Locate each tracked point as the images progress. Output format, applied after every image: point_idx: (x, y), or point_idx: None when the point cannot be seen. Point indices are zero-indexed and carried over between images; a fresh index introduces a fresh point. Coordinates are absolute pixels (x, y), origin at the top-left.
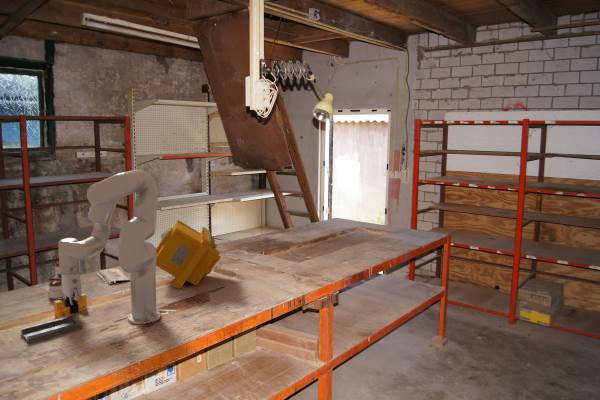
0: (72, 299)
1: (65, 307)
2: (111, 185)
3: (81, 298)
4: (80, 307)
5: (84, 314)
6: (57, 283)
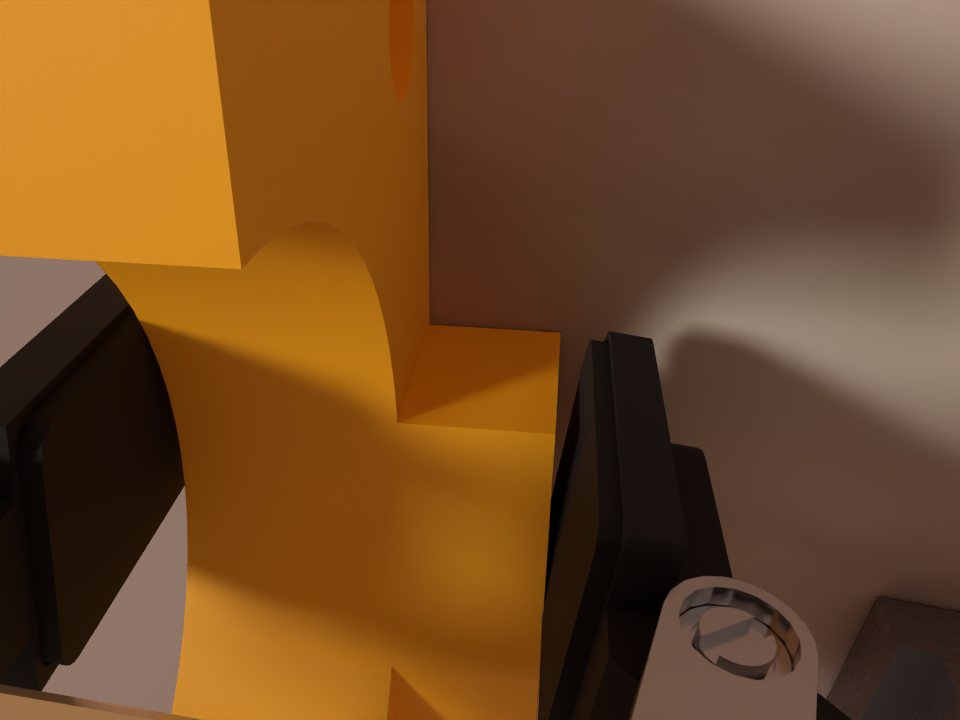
0: (8, 451)
1: (389, 704)
2: None
3: (302, 216)
4: (404, 149)
5: (800, 188)
6: None
